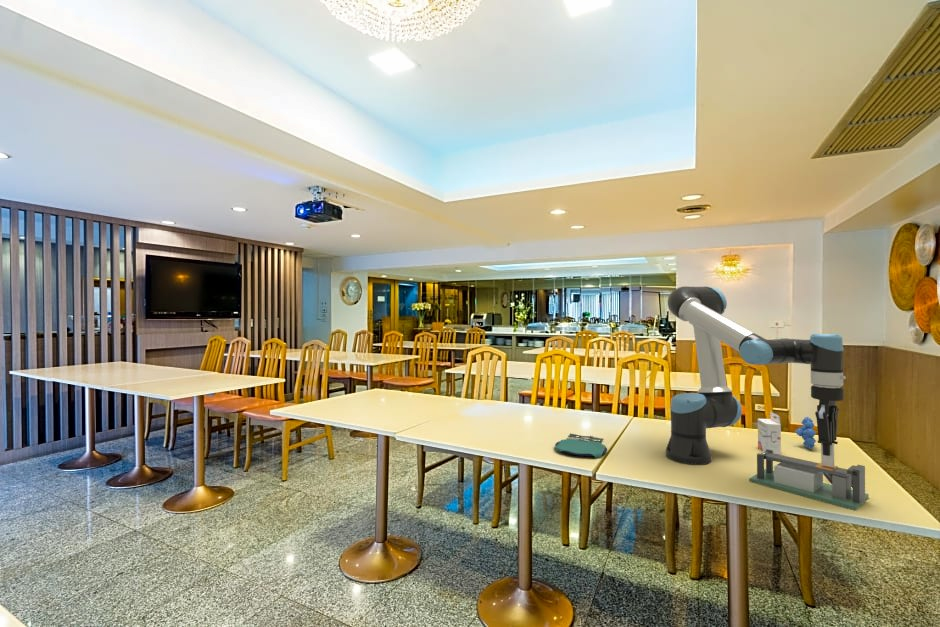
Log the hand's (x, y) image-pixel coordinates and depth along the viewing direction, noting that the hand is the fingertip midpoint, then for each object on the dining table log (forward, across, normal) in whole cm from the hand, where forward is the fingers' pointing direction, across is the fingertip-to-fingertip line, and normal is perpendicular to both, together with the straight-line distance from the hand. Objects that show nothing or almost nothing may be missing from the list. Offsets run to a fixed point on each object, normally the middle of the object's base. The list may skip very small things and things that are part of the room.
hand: (827, 465), depth 129 cm
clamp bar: (+2, 0, +6) cm, 7 cm away
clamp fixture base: (+9, 0, +5) cm, 10 cm away
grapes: (+9, +50, +19) cm, 54 cm away
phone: (+9, +19, +1) cm, 21 cm away
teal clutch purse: (+9, -20, +74) cm, 77 cm away
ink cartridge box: (+9, +33, +26) cm, 43 cm away
